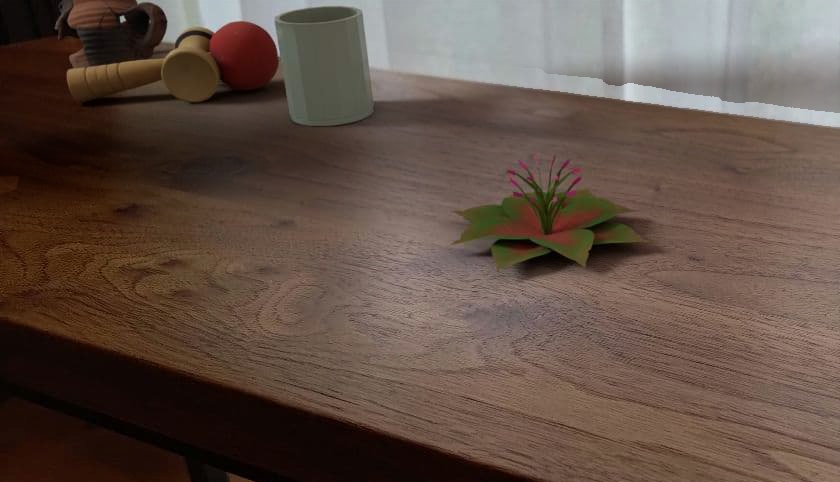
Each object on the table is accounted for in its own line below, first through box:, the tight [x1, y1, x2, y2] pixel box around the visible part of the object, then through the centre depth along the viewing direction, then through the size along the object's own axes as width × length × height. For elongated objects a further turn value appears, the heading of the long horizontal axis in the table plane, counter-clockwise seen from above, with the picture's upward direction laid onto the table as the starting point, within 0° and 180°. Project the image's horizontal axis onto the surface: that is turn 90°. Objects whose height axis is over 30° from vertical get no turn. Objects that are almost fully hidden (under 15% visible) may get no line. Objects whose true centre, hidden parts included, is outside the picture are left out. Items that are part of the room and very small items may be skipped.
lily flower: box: [449, 154, 650, 272], centre depth 57 cm, size 12×12×5 cm
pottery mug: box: [54, 0, 168, 69], centre depth 100 cm, size 12×10×8 cm
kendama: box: [66, 20, 280, 104], centre depth 88 cm, size 8×6×18 cm
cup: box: [274, 5, 375, 127], centre depth 80 cm, size 7×7×8 cm
